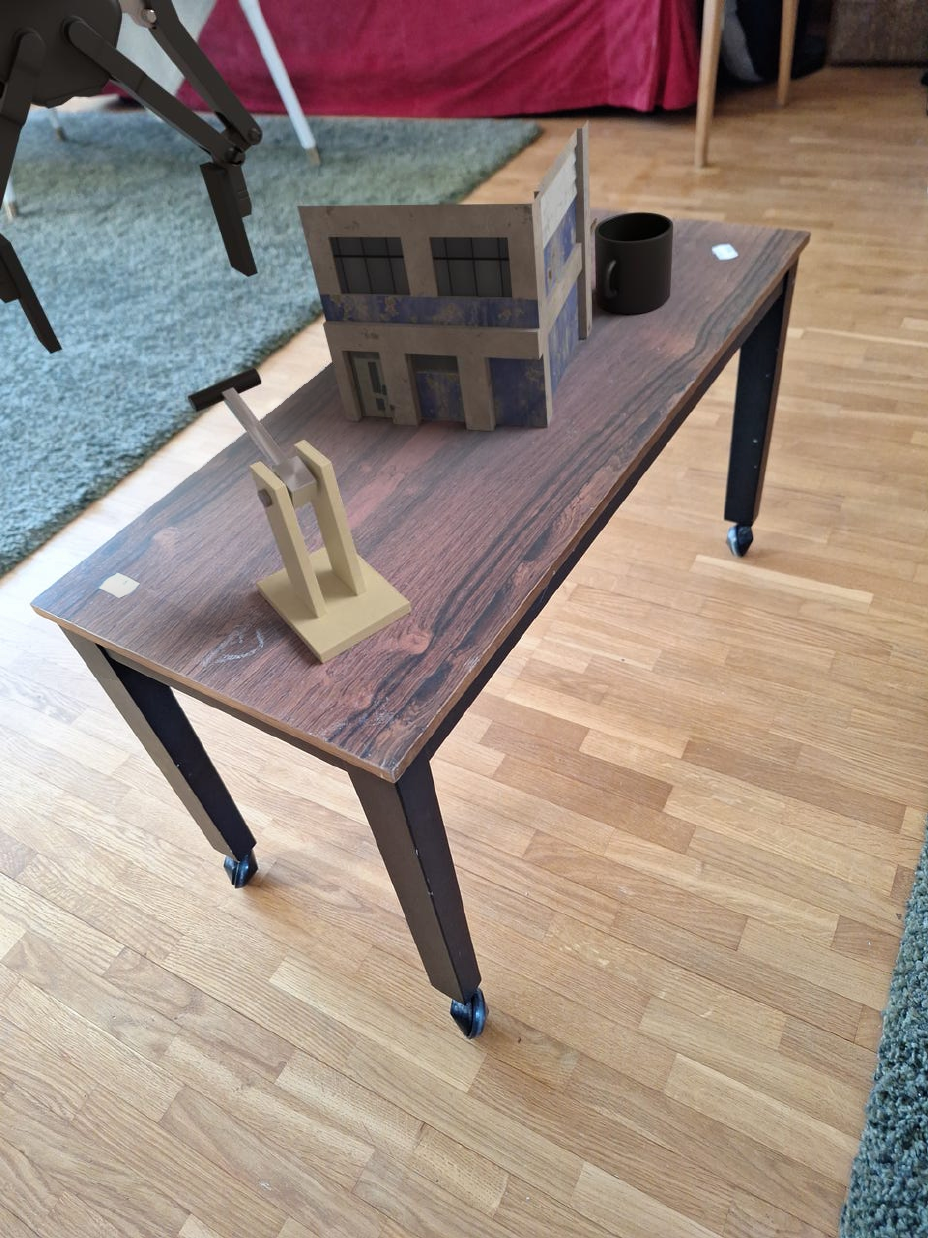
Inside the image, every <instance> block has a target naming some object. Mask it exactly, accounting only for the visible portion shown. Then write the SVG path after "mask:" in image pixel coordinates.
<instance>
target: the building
mask: <svg viewBox="0 0 928 1238" xmlns="http://www.w3.org/2000/svg"><path fill="white" fill-rule="evenodd" d="M589 130H590V129H589V120H586V122H585V124H584V126H583V127H581V128H576V129H575V131H574V132H573V133H572V135H571V137H570V138H569V140H568V141H567V142H566V144H565V145H564V147H563V148H562V149H561V151H560V153H559V154H558V155H557V157H556V158H555V160H554V161H553V163H552V164H551V166H550V167H549V169H548V170H547V172H546V173H545V175H544V176H543V177H542V179H541V180H540V182H538V184H537V186H536V187H535V189H534V190H533V201H532V202H531V203H470V204H469V203H468V204H466V203H461V204H460V203H459V204H458V203H456V204H455V203H454V204H373V205H372V204H370V205H369V204H368V205H367V204H365V205H364V204H363V205H361V204H360V205H353V204H352V205H297V206H296V207H297V211H298V214H299V219H300V222H301V227H302V230H303V235H304V239H305V242H306V246H307V247H306V248H307V251H308V254H309V259H310V264H311V267H312V271H313V275H314V280H315V284H316V287H317V292H318V295H319V299H320V303H321V308H322V311H323V312H322V313H323V315H324V316H323V317H324V319H325V321H324V322H323V323H322V327H323V330H324V331H323V332H324V334H325V339H326V343H327V347H328V351H329V355H330V359H331V361H332V367H333V370H334V375H335V379H336V382H337V387H338V392H339V395H340V399H341V403H342V406H343V411H344V415H345V419H346V421H351V422H359V421H360V420H361V418H362V417H382V418H391V419H392V423H393V425H402V426H403V425H404V426H416V427H417V426H419V424H420V423H421V421H422V419H423V420H424V419H425V420H438V421H439V420H440V421H451V422H452V421H455V422H465V426H466V430H470V431H471V430H473V431H485V432H493V431H494V429H495V427H496V425H497V424H498V425H507V426H508V425H510V426H523V427H524V426H525V427H538V428H549V426H550V425H551V421H552V419H553V417H554V415H553V397H554V395H555V393H556V391H557V388H558V387H559V384H560V382H561V379H562V377H563V375H564V373H565V371H566V369H567V367H568V365H569V362H570V360H571V358H572V356H573V353H574V351H575V349H576V347H577V345H578V342H579V340H580V339H582V340H587V339H588V338H589V336H590V333H591V331H592V328H593V303H592V295H593V294H592V248H591V247H592V245H591V244H592V242H591V236H590V227H591V191H590V190H591V188H590V186H591V185H590V134H589V133H590V131H589Z"/></svg>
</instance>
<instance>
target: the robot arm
mask: <svg viewBox="0 0 928 1238" xmlns="http://www.w3.org/2000/svg"><path fill="white" fill-rule="evenodd" d="M123 14H127V15H128V16H129V17H130V19H131V20H132V22H133V23H134V24H135V25H137V26H139V27H141V28H145V29H147V30H148V32H149V33H150V35H151V36H152V38H153V40H155V41H156V43H157V44H158V46H160V48H161V49H162V51H163V52H164V54H166V56H167V57H168V58H169V59H170V61H171V62H172V63H173V65H174V66H175V67H176V69H178V71H179V72H180V73H181V75H182V76H183V77H184V78H185V79H186V80H187V82H188V83H189V84H190V86H191V87H192V88H193V89H194V91H195V92H196V94H197V95H198V96H199V97H200V98H201V100H202V101H203V102H204V103H205V105H206V106H207V107H208V108H209V110H210V111H211V112H212V114H213V115H214V116H215V117H216V118H217V120H218V122H220V124H221V125H222V126H223V128H225V129H223V130H222V131H221V132H220V131H219V130H218V129H216V128H215V127H213V126H212V125H211V124H210V123H209V122H207V121H206V120H205V119H204V118H202V117H201V116H200V115H198V114H197V113H196V112H195V111H193V110H192V109H191V108H190V107H188V106H187V105H186V104H184V103H183V102H182V101H181V100H179V99H178V98H177V97H175V95H173V94H172V93H171V92H170V91H168V90H167V89H166V88H165V87H163V86H162V85H160V84H159V83H158V82H156V81H155V80H154V79H152V78H151V76H149V75H148V74H147V73H146V71H144V70H143V69H142V68H141V67H140V66H139V65H137V64H136V63H135V62H133V61H132V60H131V59H130V58H128V57H127V56H126V55H124V54H123V53H122V52H121V51H119V50H118V49H117V48H118V47H117V46H118V42H119V37H120V33H121V29H122V23H123ZM109 82H111V84H113V85H115V86H117V87H118V88H119V89H121V90H123V91H124V92H125V93H126V94H128V95H129V96H130V97H132V98H133V99H134V100H136V101H137V102H138V103H139V104H141V105H142V106H144V107H145V108H146V109H147V110H149V111H150V112H151V113H153V114H154V115H155V116H157V117H158V118H159V119H161V120H162V121H163V122H165V123H166V124H167V125H168V126H170V127H171V128H173V129H174V130H175V131H177V132H178V133H179V134H180V135H181V136H182V137H184V138H185V139H186V140H188V141H189V142H191V143H192V144H194V145H195V146H196V147H197V148H199V149H200V150H201V151H203V152H204V153H205V154H206V155H208V156H210V158H211V161H206V162H204V163H201V164H199V165H198V166H199V169H200V171H201V175H202V178H203V181H204V185H205V189H206V191H207V194H208V198H209V200H210V204H211V207H212V210H213V213H214V216H215V219H216V222H217V226H218V229H219V232H220V236H221V239H222V242H223V245H224V249H225V252H226V254H227V258H228V261H229V264H230V267H231V268H232V269H234V270H235V271H237V272H239V273H240V274H242V275H244V276H246V277H247V278H250V277H252V276H255V275H257V274H259V271H258V268H257V264H256V262H255V258H254V255H253V252H252V248H251V245H250V241H249V238H248V234H247V230H246V227H245V225H244V221H243V218H245V217H248V216H252V212H253V211H252V210H253V204H252V201H251V197H250V193H249V191H248V187H247V182H246V179H245V176H244V173H243V169H242V166H243V165H244V164H245V161H246V151H248V149H250V148H251V147H252V146H258V145H259V144H260V143H261V142H262V140H263V136H264V135H263V130H262V128H261V126H260V125H259V124H258V122H257V121H256V120H255V119H254V117H253V116H252V114H251V113H250V111H249V110H248V109H247V108H246V106H245V105H244V104H243V102H242V101H241V100H240V99H239V97H238V96H237V95H236V92H234V91H233V89H232V88H231V87H230V85H229V83H227V81H226V80H225V78H224V77H223V76H222V75H221V73H220V72H219V71H218V69H217V68H216V67H215V65H214V64H213V63H212V62H211V60H210V58H209V57H208V56H207V55H206V54H205V52H204V50H202V48H201V47H200V45H199V44H198V43H197V42H196V40H195V39H194V38H193V36H192V35H191V34H190V32H189V31H188V30H187V28H186V27H185V25H183V23H182V22H181V20H180V18H179V16H178V13H177V10H176V8H175V4H174V2H173V0H0V211H1V210H2V207H3V204H4V203H3V202H4V199H5V195H6V191H7V186H8V183H9V179H10V175H11V171H12V169H13V164H14V160H15V156H16V152H17V148H18V145H19V140H20V137H21V134H22V129H23V128H24V126H25V125H26V123H27V121H28V117H29V113H30V109H31V105H33V106H37V107H41V108H45V109H48V110H49V109H53V108H56V107H60V106H63V105H64V104H66V103H67V102H68V101H70V100H72V99H73V98H92V97H95V96H99V95H102V94H103V90H104V89H105V88H106V87H107V86H108V84H109ZM0 300H1V301H2V303H4V304H9V303H11V302H14V301H18V302H19V305H20V307H21V309H22V311H23V312H24V314H25V317H26V318H27V321H28V322H29V324H30V326H31V328H32V330H33V333H34V335H35V337H36V338H37V340H38V341H39V343H40V344H41V345H42V346H43V347H44V348H45V349H46V351H47V352H48V353H49V354H50V355H52V354H55V353H57V352H60V351H63V347H62V345H61V342H60V340H59V339H58V337H57V334H56V332H55V331H54V329H53V327H52V325H51V323H50V321H49V318H48V316H47V314H46V313H45V312H46V311H44V308H43V306H42V304H41V302H40V300H39V298H38V296H37V293H36V292H35V289H34V288H33V285H32V283H31V282H30V279H29V277H28V275H27V273H26V271H25V269H24V267H23V265H22V263H21V261H20V259H19V257H18V254H17V253H16V250H15V248H14V246H13V245H12V242H11V241H10V240H9V239H8V238H7V237H6V236H5V235H4V234H3V233H1V232H0Z"/></svg>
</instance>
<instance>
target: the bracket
mask: <svg viewBox="0 0 928 1238" xmlns="http://www.w3.org/2000/svg"><path fill="white" fill-rule="evenodd" d="M293 447H294V450H295V453H296V456H298V457H299V458H300V459H301V461H302V462H303V463H304V465H305V466H306V467H307V469H308V470H309V471H310V472H311V474H312V475H313V476H314V478H315V479H316V482H317V496H318V498H316V499H314V500H312V501H310V503H311V505H312V508H313V509H312V510H313V511H314V516H315V519H316V521H317V524H318V528H319V531H320V535H321V537H322V541H323V544H324V546H323V547H321V548H319V549H317V550H315V551H313V552H311V553H309V552H308V548H307V545H306V542H305V539H304V536H303V533H302V531H301V527H300V524H299V522H298V518H297V515H296V513H295V510H294V509H293V506H292V503H291V500H290V497H289V494H288V491H287V488H286V485H285V484H284V483H283V482H282V481H281V480H280V479H279V478H278V477H277V476H276V475H275V474H274V472H273V471H272V470H270V469H269V468H268V467H267V466H266V465H265V464H264V463H262V461H257V462H255V463H252V464H250V465H248V466H249V470H250V474H251V475H252V479H253V481H254V484H255V487H256V490H257V497H258V499H259V500H260V502H261V504H262V507H263V509H264V512H265V515H266V517H267V521H268V524H269V526H270V530H271V532H272V534H273V535H272V536H273V537H274V541H275V543H276V546H277V548H278V551H279V554H280V557H281V560H282V563H283V565H284V567H283V568H281V569H279V570H277V571H275V572H274V573H271V574H270V575H268V576H266V577H265V578H262V579H261V580H259V581H257V582H256V583H255V584H256V587H257V590H258V592H259V593H260V595H261V596H262V597H263V598H264V599H265V600H266V602H267V603H268V604H269V605H270V606H271V607H272V608H273V609H274V610H275V612H276V614H278V615H279V617H281V619H282V620H283V621H284V622H285V623H286V624H287V625H288V627H290V629H291V630H292V631H293V632H294V633H295V634H296V635H297V636H298V638H299V639H300V640H301V641H302V642H303V643H304V644H305V646H306V647H307V648H308V649H309V650H310V651H311V652H312V653H313V655H314V656H315V657H316V659H318V661H320V662H321V664H323V665H324V664H325V663H327V662H329V661H330V660H333V659H334V658H335V657H337V656H339V655H341V654H342V653H344V652H346V651H348V650H349V649H351V648H352V647H354V646H356V645H358V644H360V643H361V642H363V641H364V640H366V639H368V638H370V637H372V636H373V635H375V634H376V633H378V632H380V631H381V630H383V629H385V628H386V627H389V626H390V625H391V624H393V623H395V622H396V621H399V620H401V619H402V618H404V617H405V616H407V615H408V614H410V613H412V607H411V601H409V600H408V599H407V598H406V597H405V596H403V594H401V592H400V591H398V589H396V588H395V587H394V586H393V585H392V584H391V583H390V582H388V580H386V579H385V578H384V577H383V576H382V575H381V574H380V573H379V572H378V571H376V570H375V568H373V566H371V565H370V564H369V563H368V562H367V561H366V560H365V559H363V558H362V557H361V556H360V555H359V554H358V553H357V549H356V547H355V543H354V540H353V535H352V532H351V529H350V525H349V522H348V518H347V515H346V510H345V507H344V503H343V500H342V496H341V492H340V489H339V486H338V482H337V477H336V475H335V472H334V467H333V463H332V461H331V460H329V458H328V457H326V456H324V455H323V453H321V452H320V451H318V450H317V449H316V448H315V447H314V446H313V445H311V444H310V443H309V442H308V441H306V440H305V439H303V440H301V441H299V442H297V443H295V444H293Z"/></svg>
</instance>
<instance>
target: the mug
mask: <svg viewBox="0 0 928 1238" xmlns="http://www.w3.org/2000/svg"><path fill="white" fill-rule="evenodd" d="M673 242H674V223H673V221H672V219H670V218H669V217H667V216H665V215H663V214H660V213H655V212H647V211H646V212H645V211H637V212H626V213H621V214H616V215H614V216H613V215H612V216H610V217H608V218H606V219H603V220H601V221H600V222H599V223H598V224H596V225H595V227H594V266H595V267H594V268H595V271H594V274H595V278H594V279H595V301H596V303H597V305H598V306H599V307H600V308H602V309H603V310H605V311H608V312H610V313H613V314H623V315H633V314H642V313H648V312H651V311H655V310H657V309H659V308H660V307H662V306H664V305H665V304H666V303H667V302H668V300H669V298H670V296H671V289H672V286H671V285H672V267H673V266H672V263H673V244H674V243H673Z"/></svg>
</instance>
